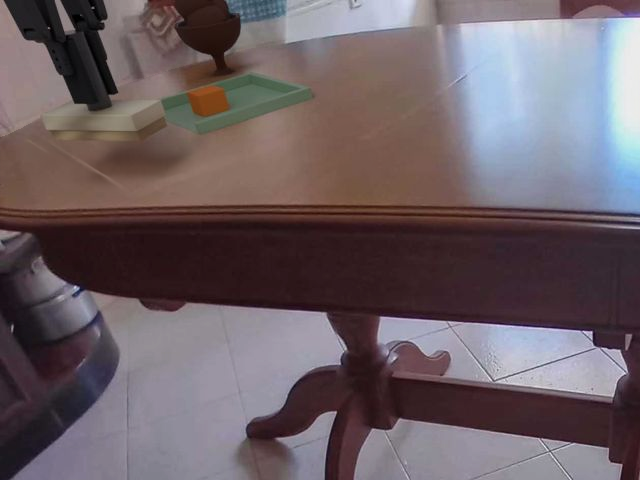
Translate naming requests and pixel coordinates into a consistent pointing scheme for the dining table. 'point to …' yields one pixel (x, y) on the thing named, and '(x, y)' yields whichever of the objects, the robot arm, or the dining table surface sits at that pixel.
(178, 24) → the ice cream bowl
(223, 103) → the eraser
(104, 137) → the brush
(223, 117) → the tray
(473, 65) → the dining table surface
